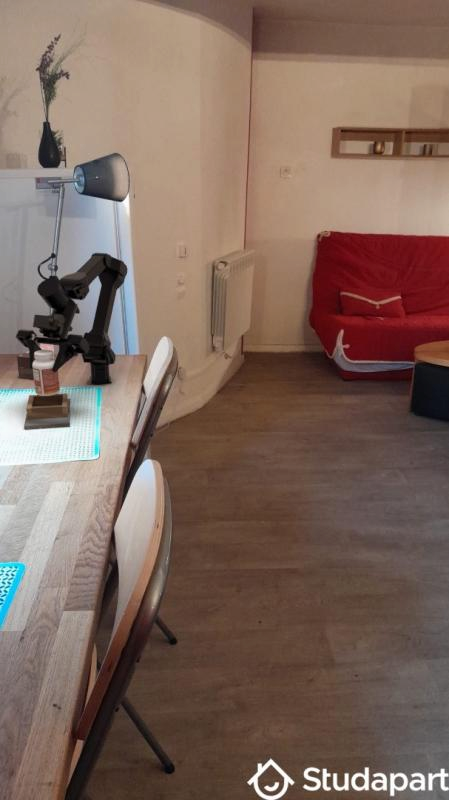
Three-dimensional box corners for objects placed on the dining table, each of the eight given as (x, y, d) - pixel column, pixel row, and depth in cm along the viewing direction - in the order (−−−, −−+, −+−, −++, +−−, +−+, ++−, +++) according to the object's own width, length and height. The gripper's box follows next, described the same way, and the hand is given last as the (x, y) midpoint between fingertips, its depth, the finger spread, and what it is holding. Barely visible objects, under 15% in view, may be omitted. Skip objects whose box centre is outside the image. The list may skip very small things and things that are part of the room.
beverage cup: (39, 362, 193) (35, 322, 188) (57, 362, 194) (54, 322, 189) (35, 367, 188) (32, 326, 183) (54, 367, 188) (51, 326, 183)
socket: (29, 403, 156) (28, 390, 155) (70, 401, 159) (69, 388, 158) (24, 429, 140) (22, 414, 139) (69, 426, 143) (68, 412, 141)
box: (35, 380, 176) (33, 357, 173) (18, 378, 177) (16, 356, 174) (45, 374, 181) (43, 352, 179) (28, 372, 182) (26, 350, 180)
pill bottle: (63, 389, 150) (59, 349, 146) (55, 397, 145) (51, 356, 141) (40, 388, 151) (36, 348, 147) (31, 396, 145) (27, 355, 141)
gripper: (15, 298, 145) (-6, 351, 139) (81, 304, 141) (61, 358, 135) (35, 321, 155) (16, 371, 149) (97, 327, 150) (79, 379, 145)
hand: (42, 370), depth 144 cm, fingers closed on pill bottle, 6 cm apart
